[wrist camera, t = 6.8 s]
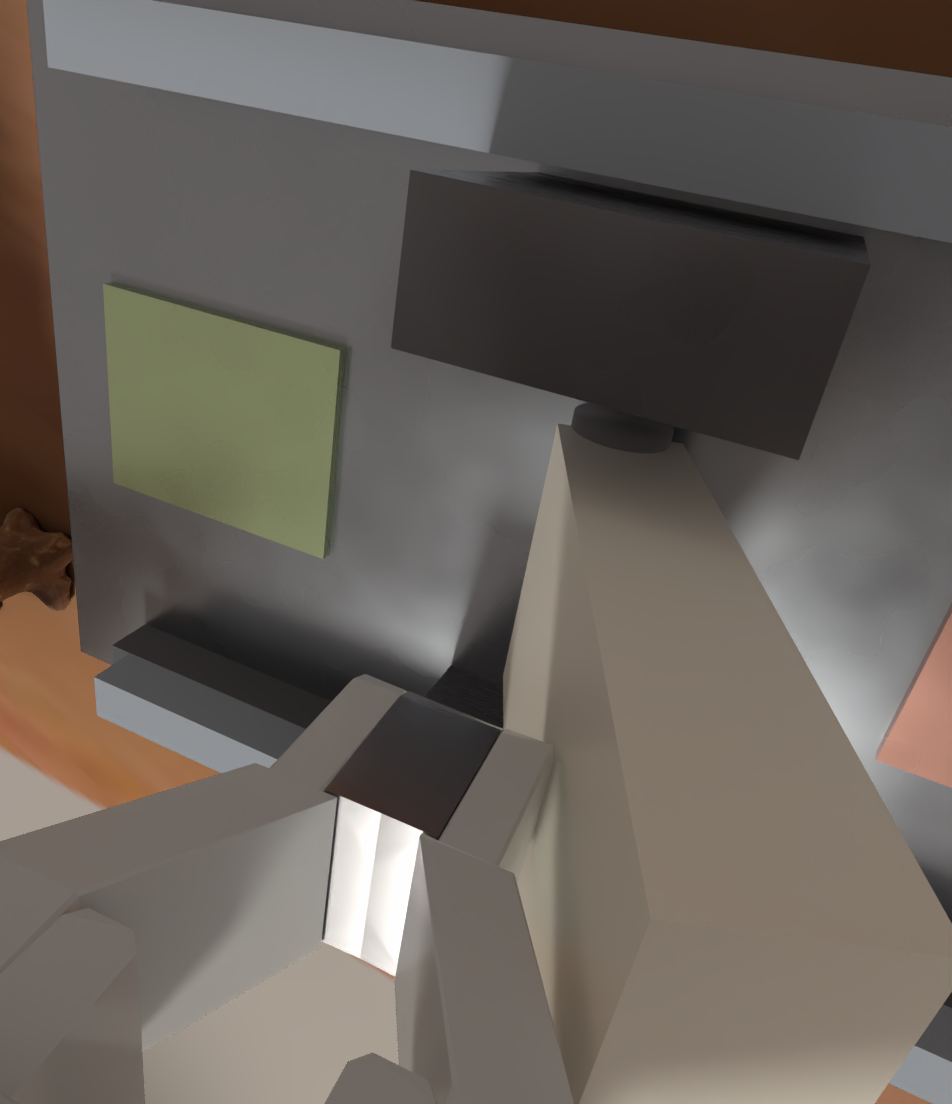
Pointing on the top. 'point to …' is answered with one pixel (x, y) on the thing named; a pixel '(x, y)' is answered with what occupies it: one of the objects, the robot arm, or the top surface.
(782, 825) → the lever
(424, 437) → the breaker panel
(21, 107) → the top surface
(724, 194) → the pair of grey bars
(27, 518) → the figurine
